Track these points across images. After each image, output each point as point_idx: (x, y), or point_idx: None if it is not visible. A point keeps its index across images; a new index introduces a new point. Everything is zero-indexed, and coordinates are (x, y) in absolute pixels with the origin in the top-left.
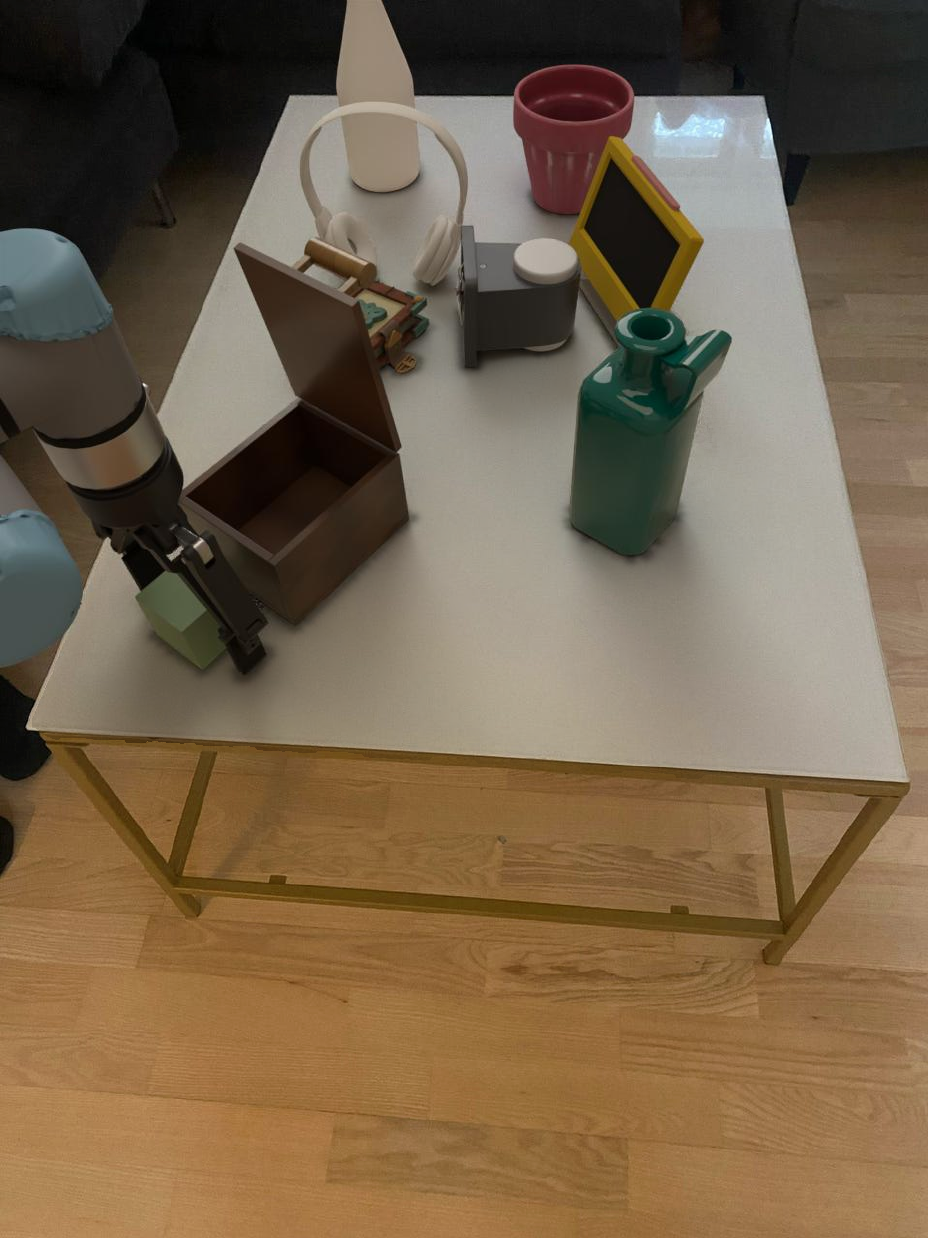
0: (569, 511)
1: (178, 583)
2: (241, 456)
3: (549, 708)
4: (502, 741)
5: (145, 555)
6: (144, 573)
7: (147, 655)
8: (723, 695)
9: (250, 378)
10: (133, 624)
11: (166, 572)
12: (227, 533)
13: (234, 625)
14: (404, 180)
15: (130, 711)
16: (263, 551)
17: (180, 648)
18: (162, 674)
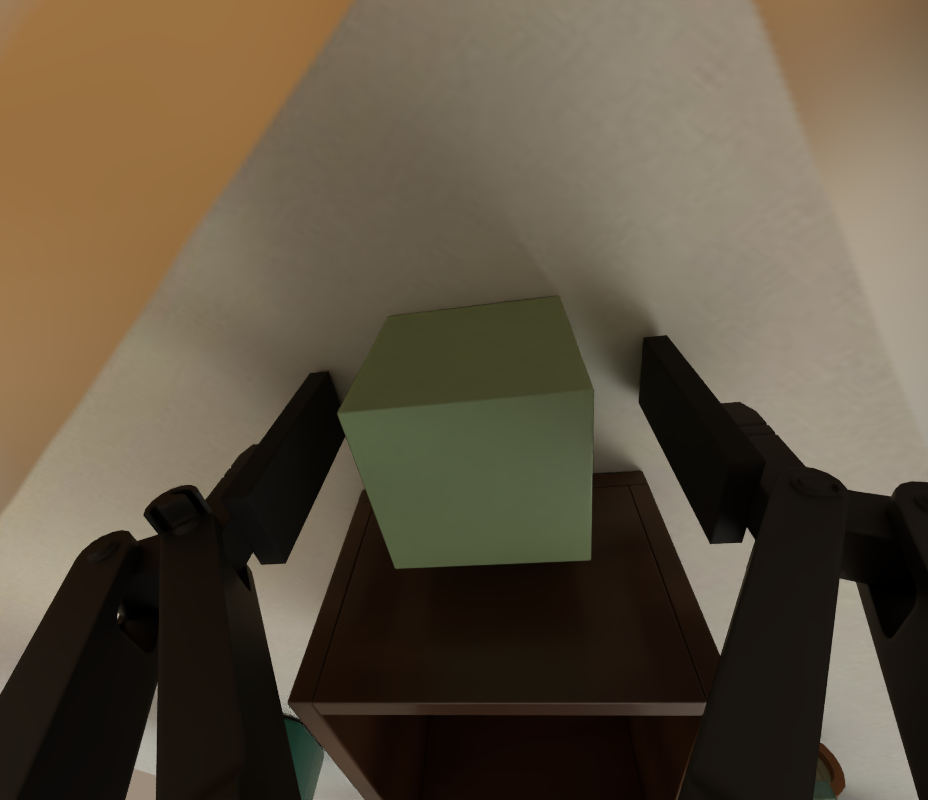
0: (294, 734)
1: (515, 498)
2: (670, 776)
3: (41, 592)
4: (3, 541)
5: (702, 491)
6: (682, 426)
7: (530, 239)
8: (6, 671)
9: (861, 692)
10: (647, 267)
11: (583, 497)
12: (475, 705)
13: (41, 622)
14: None
15: (399, 80)
16: (349, 712)
17: (445, 325)
18: (447, 235)
